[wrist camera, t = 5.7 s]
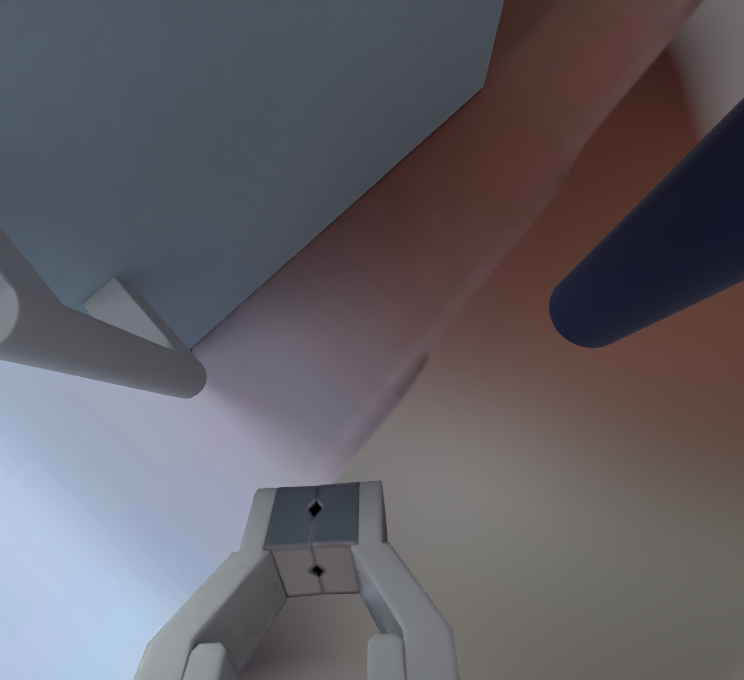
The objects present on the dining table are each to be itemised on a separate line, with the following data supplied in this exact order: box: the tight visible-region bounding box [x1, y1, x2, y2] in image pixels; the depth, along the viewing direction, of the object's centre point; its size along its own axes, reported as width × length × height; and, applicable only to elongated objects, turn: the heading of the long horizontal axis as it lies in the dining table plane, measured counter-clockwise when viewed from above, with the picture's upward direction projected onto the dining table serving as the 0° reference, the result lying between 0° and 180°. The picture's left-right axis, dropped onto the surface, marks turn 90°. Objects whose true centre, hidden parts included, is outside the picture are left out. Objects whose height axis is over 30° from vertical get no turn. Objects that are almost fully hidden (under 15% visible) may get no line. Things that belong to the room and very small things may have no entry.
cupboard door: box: [0, 0, 504, 399], centre depth 15 cm, size 6×26×24 cm, turn 134°
